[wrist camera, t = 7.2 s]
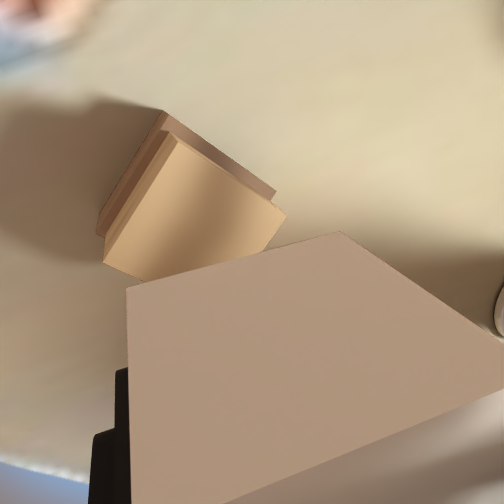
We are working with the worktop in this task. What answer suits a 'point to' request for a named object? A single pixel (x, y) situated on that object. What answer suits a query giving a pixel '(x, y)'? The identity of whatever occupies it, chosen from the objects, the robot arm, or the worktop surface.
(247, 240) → the brown open tray
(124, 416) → the robot arm
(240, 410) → the cream cube
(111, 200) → the tan wooden square tray
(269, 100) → the worktop surface
